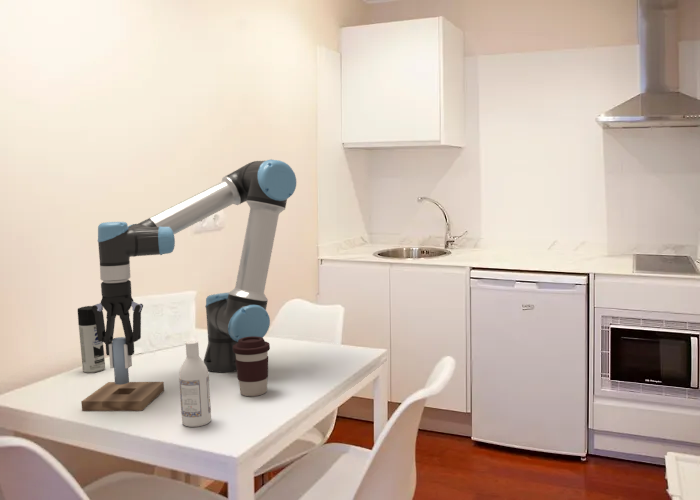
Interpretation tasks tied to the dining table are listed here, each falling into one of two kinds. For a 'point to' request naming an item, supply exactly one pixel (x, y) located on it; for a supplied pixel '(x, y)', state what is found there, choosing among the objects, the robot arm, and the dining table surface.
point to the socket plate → (123, 396)
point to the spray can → (90, 341)
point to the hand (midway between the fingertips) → (121, 366)
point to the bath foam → (194, 388)
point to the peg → (119, 361)
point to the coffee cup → (252, 365)
